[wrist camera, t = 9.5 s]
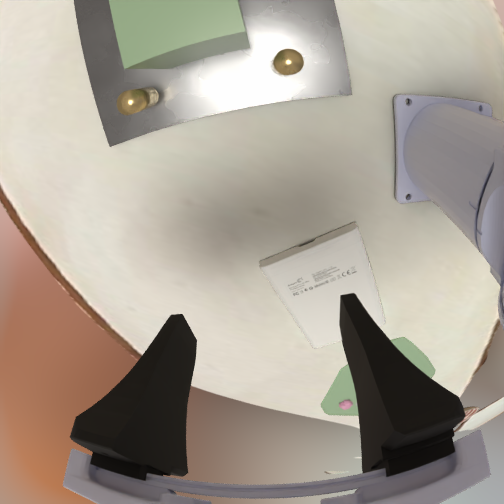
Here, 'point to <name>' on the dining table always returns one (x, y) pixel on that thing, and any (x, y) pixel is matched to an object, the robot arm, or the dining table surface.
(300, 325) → the external hard drive
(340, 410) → the plant
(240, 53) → the chassis
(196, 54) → the board block
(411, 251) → the dining table surface
